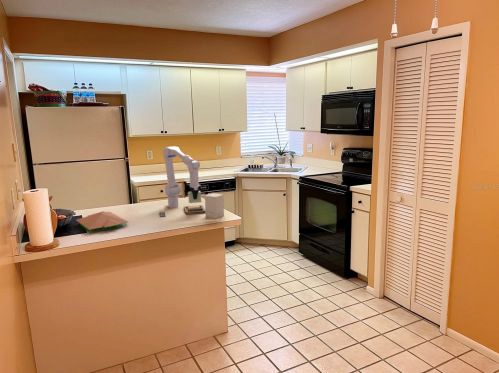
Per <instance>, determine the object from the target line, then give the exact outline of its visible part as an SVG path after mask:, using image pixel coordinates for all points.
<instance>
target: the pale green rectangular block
mask: <svg viewBox="0 0 499 373" xmlns="http://www.w3.org/2000/svg"><path fill="white" fill-rule="evenodd" d="M187 197H188V204H196V203H202V192H201V190H199V192H198V196H197V199H193V194H192V191H191V190H190V191H188V192H187Z"/></svg>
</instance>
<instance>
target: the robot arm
mask: <svg viewBox="0 0 499 373" xmlns="http://www.w3.org/2000/svg"><path fill="white" fill-rule="evenodd" d="M162 154H163V159H164V162H165V163H164V164H165V172H166V178H167V183H166V184H165V185H164V193H165V195H166V196H167V205H168V208H169V209H173V208H178V207H179V196H180V195H179V194H180V193H181V187H180V184H179V183H178V182H176V177H175V170H174V162H173V159H175V158H176V157H178V158H179V159H181V162H182V163H184V164H185V166H187V169H188V172H189V190H190V192H191V191H192V194H193V199H197V196H198V192H199V191H200V188H199V187H201V184H200V183H199V169H200V166H201V164H200V161H198V160H195V159H194V158H192V157H191V156H190V155H189V154H184V153H183V152H182V151H181V150H180V147H178V146H177V145H175V146H165V147H164V148H163V150H162Z"/></svg>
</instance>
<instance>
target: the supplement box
mask: <svg viewBox="0 0 499 373" xmlns="http://www.w3.org/2000/svg"><path fill="white" fill-rule="evenodd" d="M224 198H225V197H224V194H222V193H214V192H212V193H209V194H206V195H204V209H205V213H204V214H205V217H206V218H211V219H214V220H217V219H218V218H221V217H223V216H225V209H224V208H225V207H224V206H225V204H224V202H225V201H224V200H225V199H224Z"/></svg>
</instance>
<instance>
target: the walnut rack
mask: <svg viewBox="0 0 499 373" xmlns="http://www.w3.org/2000/svg"><path fill="white" fill-rule="evenodd" d="M191 206H192V205H188V206H186V205H185V206H183V210H184V212H185V214H186V216H187V215H198V214H199V215H200V214H206V213H205V206H203V205H200V204H199V205H197V206H200V207H201V208H196V209H187V207H191Z"/></svg>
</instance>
